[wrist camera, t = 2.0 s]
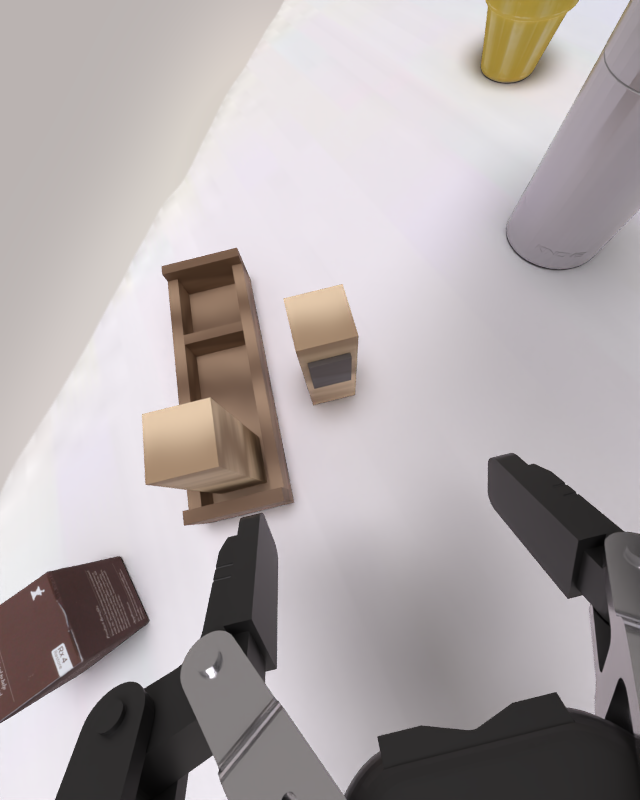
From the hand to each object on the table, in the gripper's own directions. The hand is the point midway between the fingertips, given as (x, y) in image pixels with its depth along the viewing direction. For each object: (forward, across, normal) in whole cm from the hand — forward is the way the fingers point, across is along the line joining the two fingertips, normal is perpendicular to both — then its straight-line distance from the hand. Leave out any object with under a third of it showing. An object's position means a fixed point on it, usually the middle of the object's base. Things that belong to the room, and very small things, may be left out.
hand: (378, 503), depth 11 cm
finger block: (+20, 0, +3) cm, 21 cm away
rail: (+22, +9, +2) cm, 24 cm away
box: (+10, +22, +14) cm, 28 cm away
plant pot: (+46, -33, -23) cm, 62 cm away
